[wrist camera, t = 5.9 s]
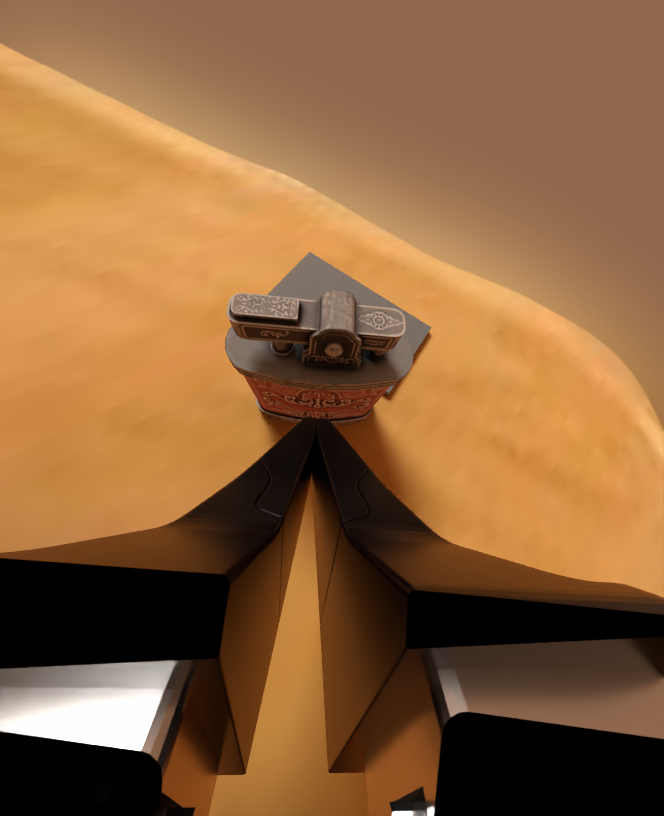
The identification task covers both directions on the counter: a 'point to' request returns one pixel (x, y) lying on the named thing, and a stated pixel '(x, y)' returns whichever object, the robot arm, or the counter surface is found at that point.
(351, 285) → the mat
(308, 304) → the lighter
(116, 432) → the counter surface
